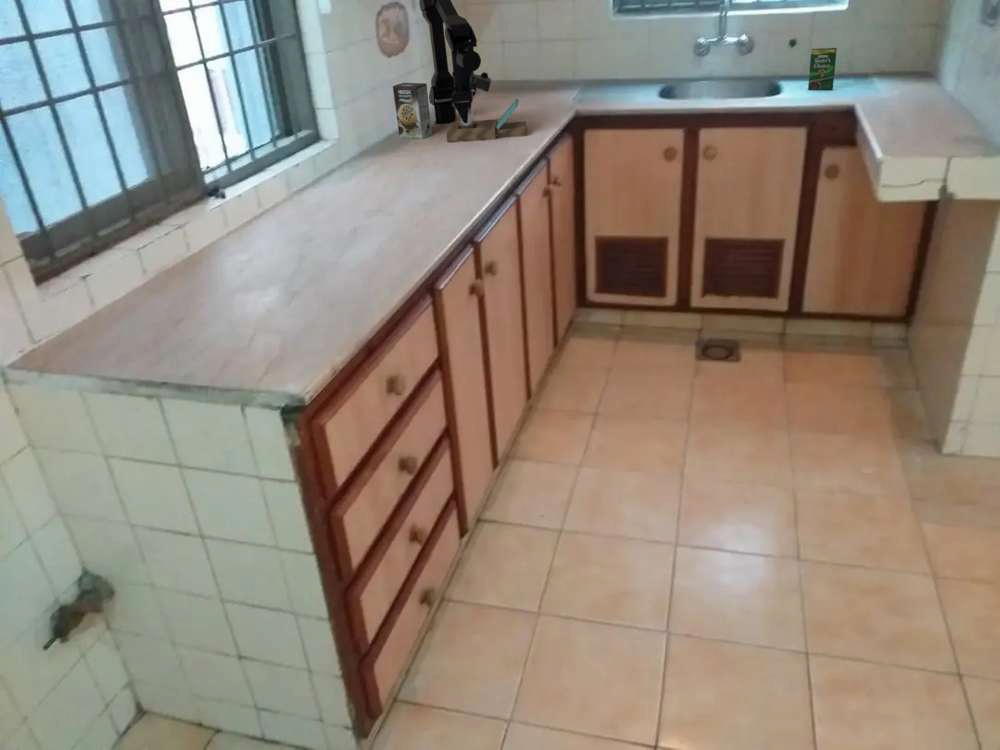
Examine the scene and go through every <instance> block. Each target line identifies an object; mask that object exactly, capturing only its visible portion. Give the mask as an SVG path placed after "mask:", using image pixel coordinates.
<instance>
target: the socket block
mask: <svg viewBox="0 0 1000 750" xmlns="http://www.w3.org/2000/svg"><path fill="white" fill-rule="evenodd" d="M498 120H499V119H497V118H496V119H482V120H474V128H466V129H462V126H461V121H454V122H451V123H449V127H448V128H447V130H446V143H447V142H449V143H460V142H459V141H464V142H474V141H473V140H479V141H487V140H486V139H494V140H496V139H497V137H501V138H511V136H516V137H526V136H527V130H528V127H527V126H528V125H527V124H528V123H527V121H510V122H509V121H508V122H504V123H503V125H502V126H501V127H500V128H499V129H497V128H496V127H497V123H498ZM496 135H497V136H496Z"/></svg>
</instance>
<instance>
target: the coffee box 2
mask: <svg viewBox="0 0 1000 750" xmlns="http://www.w3.org/2000/svg"><path fill="white" fill-rule="evenodd" d="M809 60H810V62H809V73H808V75H809V76H808V83H807V84H808V87H807V90H808V91H824V90H825V91H833V89H834V83H835V82H834V81H835V71H836V60H837V47H823V48H821V47H820V48H811V50H810V59H809Z"/></svg>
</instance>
